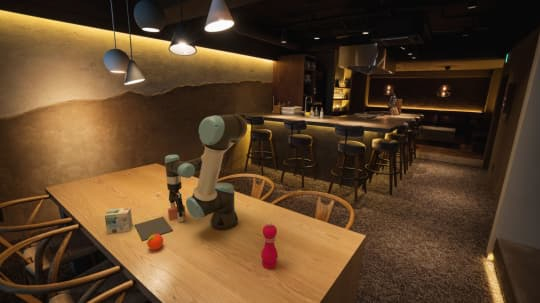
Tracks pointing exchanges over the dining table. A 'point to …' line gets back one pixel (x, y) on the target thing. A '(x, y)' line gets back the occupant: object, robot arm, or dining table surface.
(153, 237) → the clementine
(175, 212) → the block
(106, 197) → the dining table surface
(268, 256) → the pink bowling pin
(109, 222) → the light bulb box
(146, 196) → the dining table surface
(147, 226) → the mat
